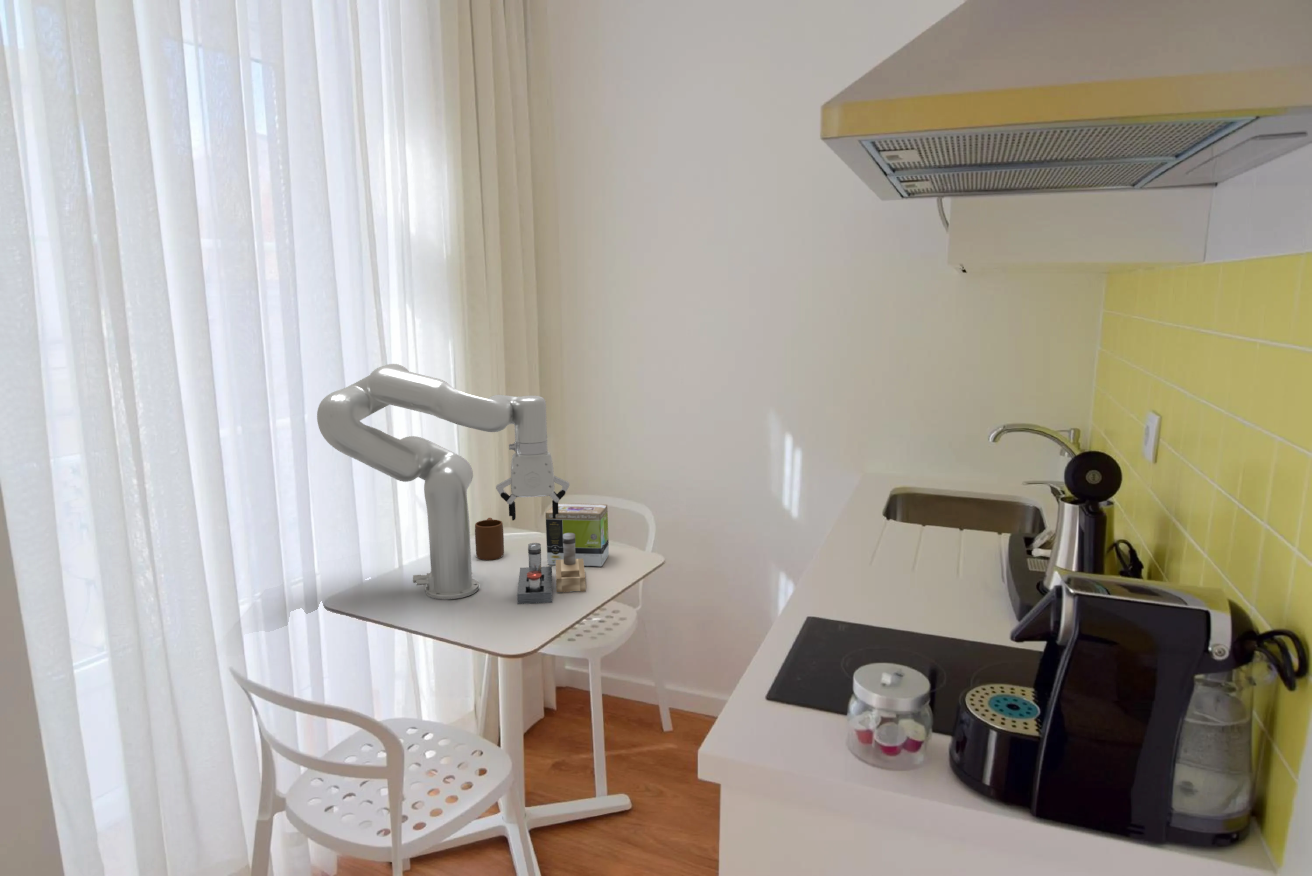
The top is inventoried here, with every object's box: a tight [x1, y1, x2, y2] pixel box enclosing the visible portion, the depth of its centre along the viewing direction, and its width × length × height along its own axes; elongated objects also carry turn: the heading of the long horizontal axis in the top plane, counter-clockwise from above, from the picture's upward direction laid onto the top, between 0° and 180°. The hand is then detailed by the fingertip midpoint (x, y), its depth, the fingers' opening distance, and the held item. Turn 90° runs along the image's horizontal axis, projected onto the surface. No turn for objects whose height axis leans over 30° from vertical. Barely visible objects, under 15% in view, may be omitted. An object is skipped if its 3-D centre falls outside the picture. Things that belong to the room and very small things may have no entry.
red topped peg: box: [527, 571, 542, 593], centre depth 184 cm, size 3×3×5 cm
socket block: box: [516, 565, 553, 605], centre depth 191 cm, size 8×18×2 cm, turn 7°
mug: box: [474, 517, 505, 561], centre depth 217 cm, size 12×8×9 cm, turn 10°
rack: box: [555, 533, 587, 593], centre depth 195 cm, size 7×14×11 cm, turn 7°
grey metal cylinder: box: [527, 542, 542, 581], centre depth 191 cm, size 3×3×11 cm
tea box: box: [545, 503, 610, 567], centre depth 211 cm, size 15×10×15 cm
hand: (534, 518), depth 189 cm, fingers open, 9 cm apart
